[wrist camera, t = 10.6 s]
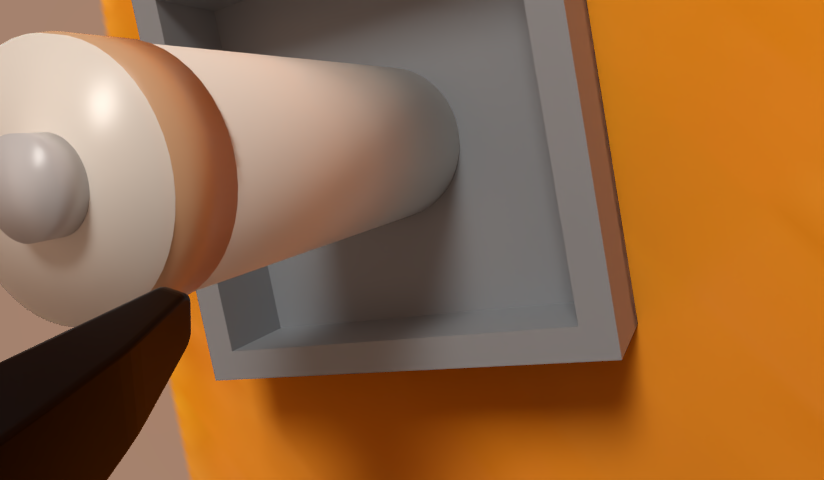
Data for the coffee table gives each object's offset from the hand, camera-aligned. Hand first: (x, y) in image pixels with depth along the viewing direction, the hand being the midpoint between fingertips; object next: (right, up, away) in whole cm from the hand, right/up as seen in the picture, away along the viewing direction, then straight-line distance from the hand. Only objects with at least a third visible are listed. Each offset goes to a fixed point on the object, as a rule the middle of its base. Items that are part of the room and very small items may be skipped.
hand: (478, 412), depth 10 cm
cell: (-2, +6, +14) cm, 15 cm away
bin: (-1, +6, +14) cm, 15 cm away
